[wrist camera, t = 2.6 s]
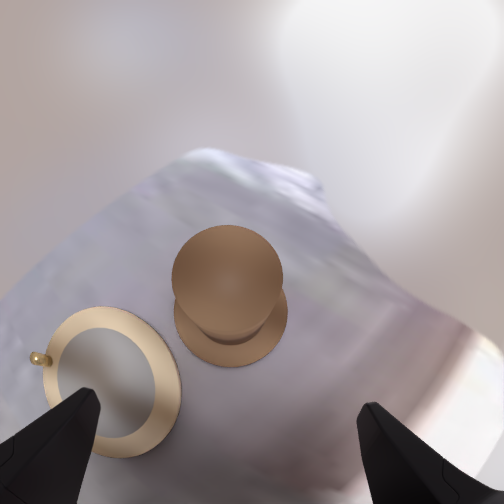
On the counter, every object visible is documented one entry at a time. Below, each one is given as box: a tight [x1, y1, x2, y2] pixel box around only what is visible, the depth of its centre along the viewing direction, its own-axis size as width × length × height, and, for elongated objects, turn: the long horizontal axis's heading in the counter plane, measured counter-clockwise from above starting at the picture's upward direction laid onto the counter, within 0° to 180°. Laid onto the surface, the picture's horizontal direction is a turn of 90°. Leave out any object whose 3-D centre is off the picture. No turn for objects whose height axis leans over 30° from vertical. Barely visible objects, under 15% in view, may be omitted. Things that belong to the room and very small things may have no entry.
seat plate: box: [30, 306, 182, 458], centre depth 16 cm, size 12×12×3 cm
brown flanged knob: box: [172, 225, 288, 367], centre depth 17 cm, size 8×8×9 cm
